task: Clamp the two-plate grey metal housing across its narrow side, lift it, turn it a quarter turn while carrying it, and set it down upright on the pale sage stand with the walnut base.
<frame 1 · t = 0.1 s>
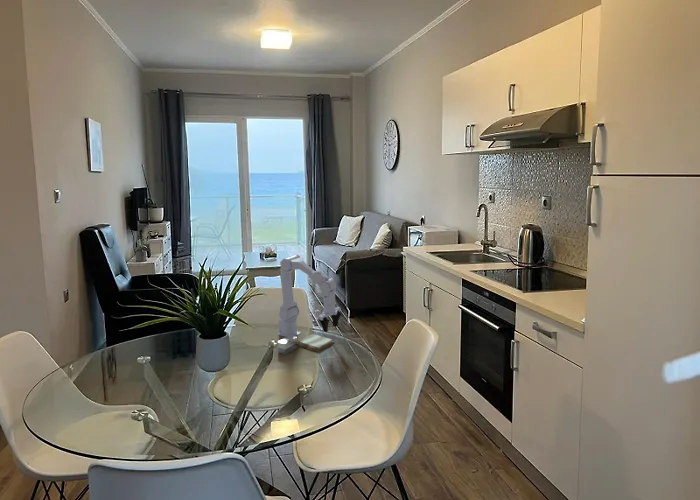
hand: (330, 328, 256), 10 cm above the table, tool pointing down, fingers open, 7 cm apart
stand: (315, 344, 262), on the table
housing: (288, 350, 256), on the table
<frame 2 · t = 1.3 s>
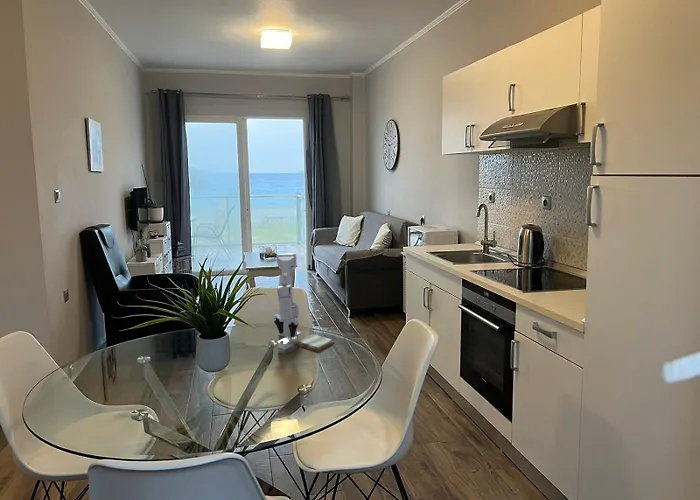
hand: (287, 334, 254), 8 cm above the table, tool pointing down, fingers open, 7 cm apart
nothing on the table moved.
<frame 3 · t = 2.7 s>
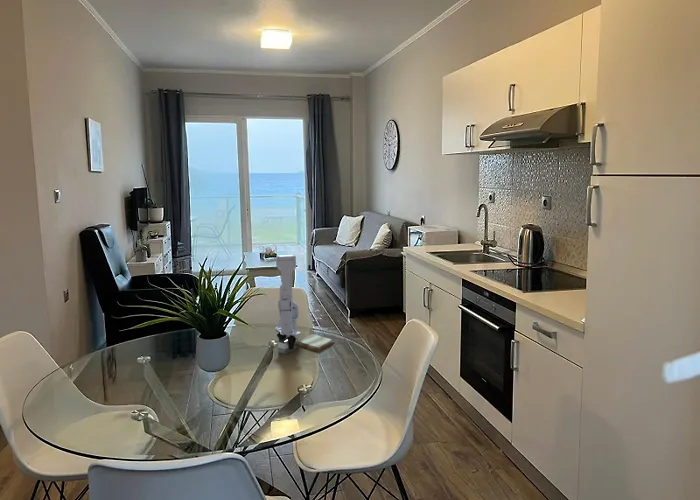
hand: (287, 347, 256), 1 cm above the table, tool pointing down, fingers closed on housing, 4 cm apart
housing: (288, 350, 256), on the table, touching gripper
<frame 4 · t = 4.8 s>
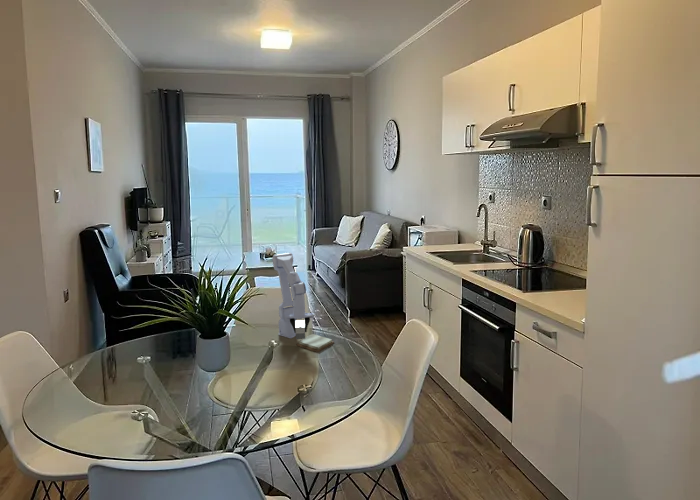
hand: (300, 331, 257), 8 cm above the table, tool pointing down, fingers closed on housing, 5 cm apart
housing: (300, 335, 257), point 7 cm above the table, touching gripper
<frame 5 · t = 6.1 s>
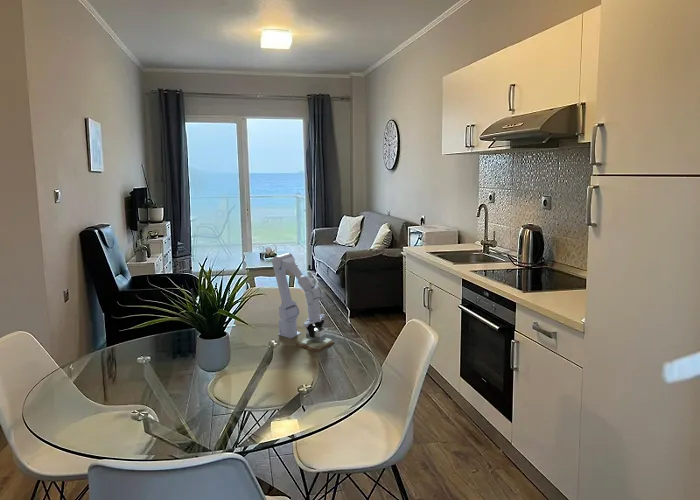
hand: (315, 335, 261), 5 cm above the table, tool pointing down, fingers closed on housing, 4 cm apart
housing: (315, 338, 261), point 3 cm above the table, touching gripper
when the fingers open (5 cm above the table, at t = 7.0 s): housing stays where it is, resting on stand.
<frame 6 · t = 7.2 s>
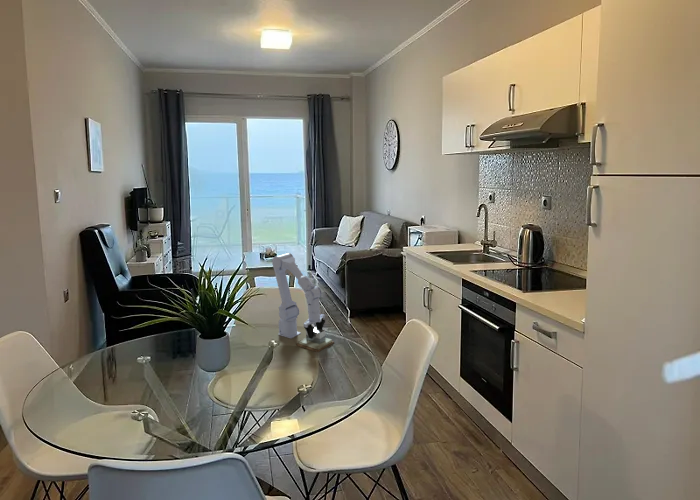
hand: (315, 335, 261), 5 cm above the table, tool pointing down, fingers open, 6 cm apart
housing: (315, 340, 262), point 2 cm above the table, touching stand
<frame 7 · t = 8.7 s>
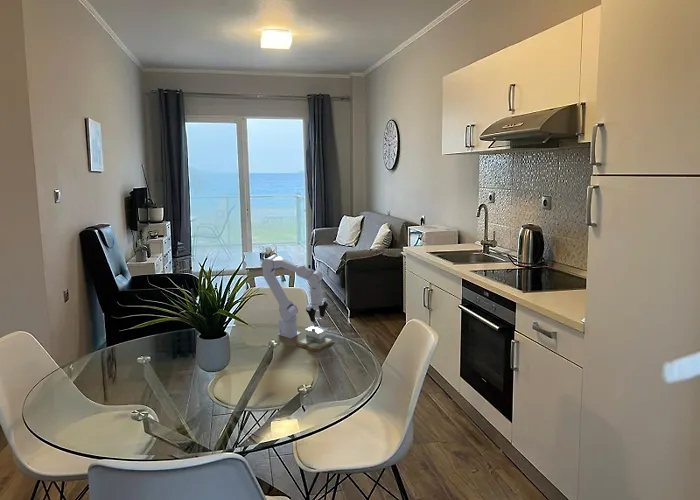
hand: (317, 319, 267), 10 cm above the table, tool pointing down, fingers open, 7 cm apart
nothing on the table moved.
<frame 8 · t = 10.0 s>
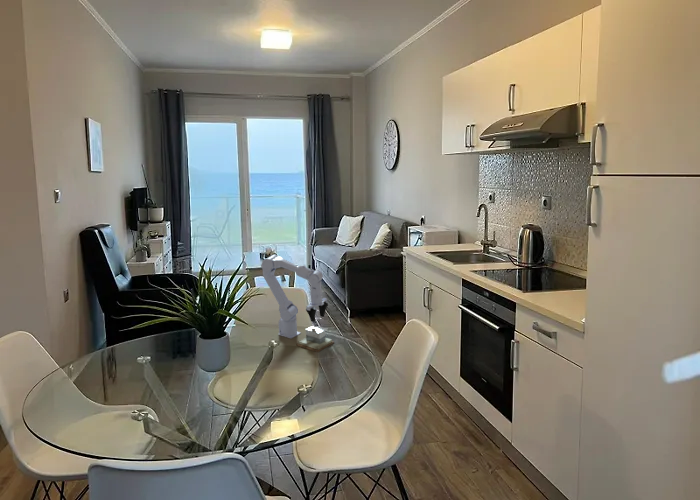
hand: (317, 318, 267), 10 cm above the table, tool pointing down, fingers open, 7 cm apart
nothing on the table moved.
at the end: housing inside the target area on the stand (0.4 cm from its centre), point 2.0 cm above the stand's base; housing tilted 0°; housing touching stand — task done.
